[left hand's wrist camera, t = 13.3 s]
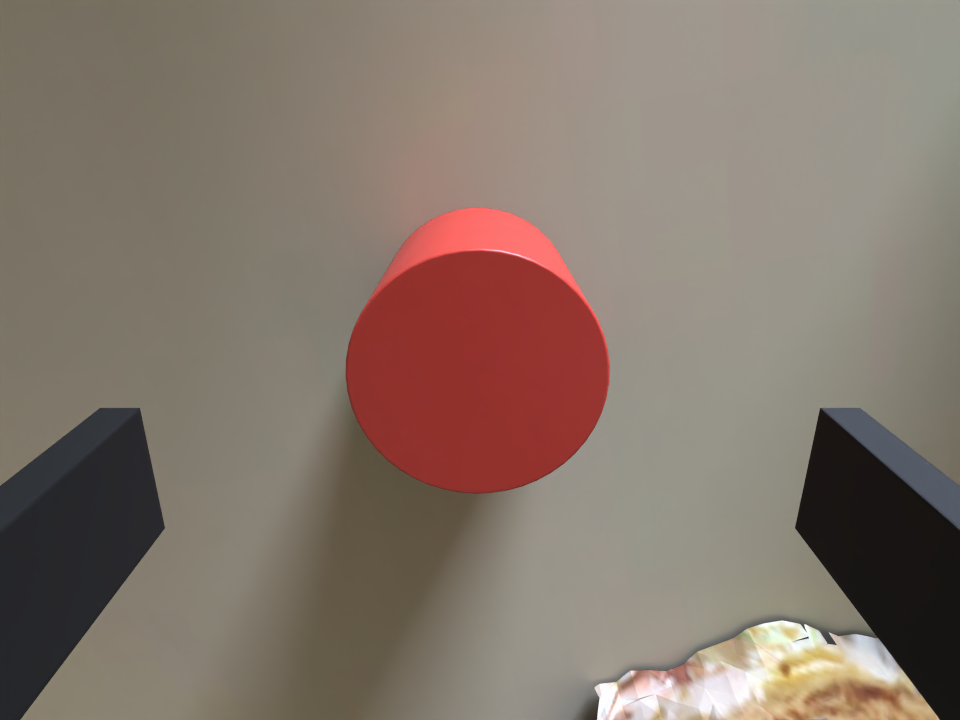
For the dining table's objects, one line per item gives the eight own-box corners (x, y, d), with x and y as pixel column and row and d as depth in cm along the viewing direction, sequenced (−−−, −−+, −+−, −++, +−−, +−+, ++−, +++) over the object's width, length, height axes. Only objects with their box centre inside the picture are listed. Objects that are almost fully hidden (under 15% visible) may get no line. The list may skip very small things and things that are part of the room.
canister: (603, 255, 24) (658, 315, 17) (522, 413, 27) (539, 527, 19) (427, 175, 23) (403, 201, 16) (358, 346, 26) (309, 440, 18)
